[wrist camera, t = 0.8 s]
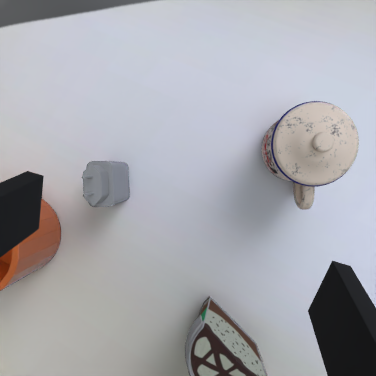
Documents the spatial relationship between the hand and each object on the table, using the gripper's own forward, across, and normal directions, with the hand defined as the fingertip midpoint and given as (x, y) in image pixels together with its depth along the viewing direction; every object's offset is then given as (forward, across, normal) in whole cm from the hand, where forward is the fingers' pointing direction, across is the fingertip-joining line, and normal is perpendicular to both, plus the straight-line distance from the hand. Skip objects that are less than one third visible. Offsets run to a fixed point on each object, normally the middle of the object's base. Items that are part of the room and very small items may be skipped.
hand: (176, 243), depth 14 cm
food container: (+24, -8, +26) cm, 36 cm away
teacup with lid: (+31, -11, +1) cm, 33 cm away
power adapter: (+28, +12, +10) cm, 32 cm away
